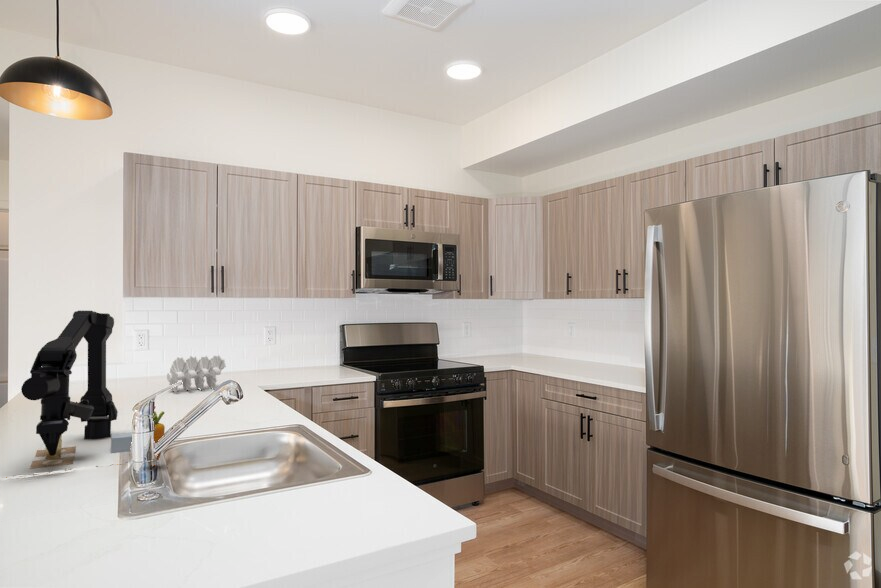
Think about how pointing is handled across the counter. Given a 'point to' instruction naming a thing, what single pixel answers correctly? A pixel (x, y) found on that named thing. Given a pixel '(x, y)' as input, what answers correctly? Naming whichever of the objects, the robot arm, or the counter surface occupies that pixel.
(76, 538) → the counter surface
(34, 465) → the build board
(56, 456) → the pin
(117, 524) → the counter surface
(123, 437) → the grey block
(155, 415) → the carrot
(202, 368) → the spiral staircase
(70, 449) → the board
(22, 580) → the counter surface
